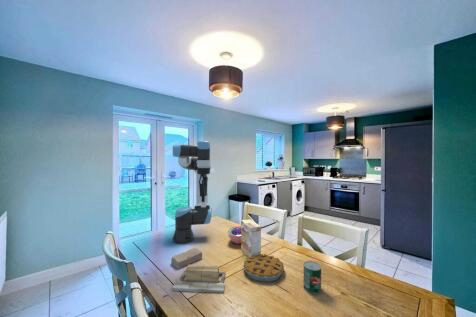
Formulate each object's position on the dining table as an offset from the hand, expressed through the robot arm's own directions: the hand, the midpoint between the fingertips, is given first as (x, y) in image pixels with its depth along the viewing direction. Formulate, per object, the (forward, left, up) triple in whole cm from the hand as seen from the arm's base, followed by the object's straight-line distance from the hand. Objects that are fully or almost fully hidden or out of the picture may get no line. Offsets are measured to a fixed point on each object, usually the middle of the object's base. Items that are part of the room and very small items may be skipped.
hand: (203, 206), depth 119 cm
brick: (+2, -9, -32) cm, 34 cm away
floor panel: (+20, +4, -32) cm, 38 cm away
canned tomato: (+22, +57, -32) cm, 69 cm away
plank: (+19, +4, -32) cm, 37 cm away
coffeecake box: (-10, +28, -32) cm, 44 cm away
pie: (+9, +35, -32) cm, 48 cm away
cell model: (-27, +20, -32) cm, 47 cm away
